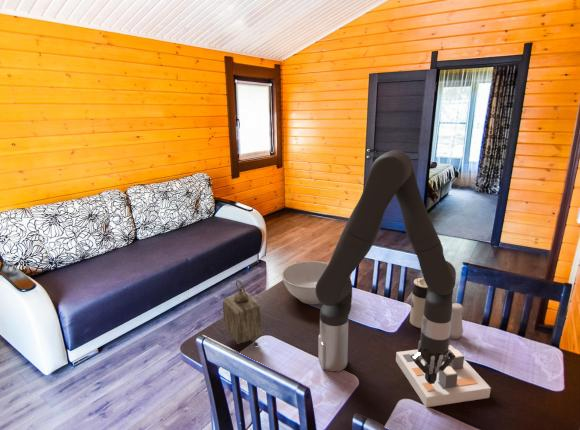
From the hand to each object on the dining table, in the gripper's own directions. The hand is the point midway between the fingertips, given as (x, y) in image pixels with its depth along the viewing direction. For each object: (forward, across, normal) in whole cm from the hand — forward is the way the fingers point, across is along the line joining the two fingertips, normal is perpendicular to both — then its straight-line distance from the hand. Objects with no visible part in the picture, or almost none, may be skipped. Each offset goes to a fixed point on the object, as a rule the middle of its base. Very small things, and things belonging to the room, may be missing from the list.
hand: (430, 381), depth 104 cm
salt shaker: (+6, +24, +26) cm, 36 cm away
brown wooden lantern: (+6, -54, +36) cm, 65 cm away
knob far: (+2, +6, +13) cm, 14 cm away
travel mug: (+6, +16, +36) cm, 40 cm away
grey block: (+2, +6, 0) cm, 6 cm away
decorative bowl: (+6, -22, +64) cm, 68 cm away
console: (+6, +7, +7) cm, 11 cm away
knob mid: (+2, +12, +7) cm, 14 cm away
